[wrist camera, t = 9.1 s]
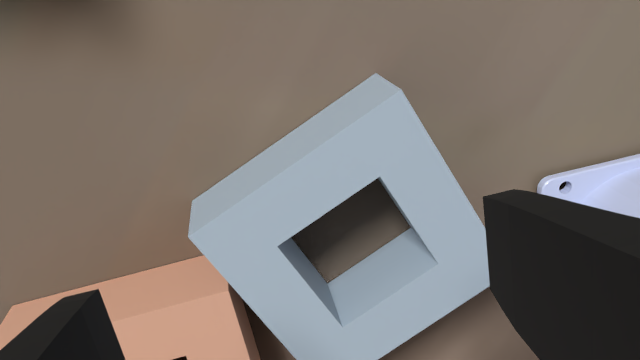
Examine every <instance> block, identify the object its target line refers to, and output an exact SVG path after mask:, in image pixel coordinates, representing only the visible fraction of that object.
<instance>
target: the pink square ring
mask: <svg viewBox="0 0 640 360" xmlns="http://www.w3.org/2000/svg"><path fill="white" fill-rule="evenodd" d="M96 289H99V291H100V294H101V296H102V299H103V302H104V304H105V307H106V310H107V312H108V315H109V317H110V320H111V323H112V325H113V328H114V331H115V333H116V336H117V339H118V341H119V344H120V346H121V349H122V352H123V354H124V357H125V360H172V359H176V358H179V357H183V356H186V357H187V360H261V359H260V355H259V352H258V349H257V346H256V342H255V339H254V336H253V333H252V329H251V326H250V323H249V319H248V316H247V313H246V310H245V306H244V303H243V300H242V297H241V296H240V295H239V294H238V293H237V292H236V291H235V290H234V288H233V287H232V286H231V285H230V284H229V283H228V282H227V280H226V279H225V278H224V277H223V276H222V275H221V274H220V273H219V271H218V270H217V269H216V268H215V267H214V266H213V265H212V264H211V262H210V261H209V260H208V259H207V258H206V257H205V256H204V255H203V256H199V257H195V258H191V259H187V260H184V261H180V262H176V263H172V264H168V265H165V266H161V267H157V268H153V269H150V270H146V271H142V272H138V273H134V274H131V275H127V276H123V277H119V278H115V279H112V280H108V281H104V282H100V283H97V284H93V285H89V286H85V287H81V288H78V289H74V290H70V291H66V292H62V293H59V294H55V295H51V296H47V297H44V298H40V299H36V300H32V301H28V302H25V303H21V304H17V305H13V306H12V307H11V309H10V311H9V312H8V314H7V315H6V317H5V319H4V320H3V322H2V324H1V325H0V350H1V349H2V348H3V347H4V346H6V345H7V344H8V343H9V342H10V341H11V340H12V339H14V338H15V337H16V336H17V335H18V334H19V333H20V332H21V331H23V330H24V329H25V328H26V327H27V326H28V325H29V324H31V323H32V322H33V321H34V320H35V319H36V318H37V317H39V316H40V315H41V314H42V313H43V312H45V311H46V310H47V309H48V308H50V307H51V306H52V305H53V304H55V303H56V302H58V301H59V300H61V299H62V298H64V297H67V296H71V295H75V294H79V293H83V292H88V291H92V290H96Z"/></svg>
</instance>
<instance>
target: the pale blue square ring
mask: <svg viewBox="0 0 640 360" xmlns="http://www.w3.org/2000/svg"><path fill="white" fill-rule="evenodd" d="M377 178H378V179H379V181H380V182H381V184H382V185H383V187H384V188H385V190H386V191H387V193H388V194H389V195H390V197H391V198H392V200H393V201H394V203H395V204H396V206H397V207H398V209H399V210H400V212H401V213H402V215H403V216H404V218H405V219H406V221H407V222H408V224H409V225H410V227H411V228H409V229H408V230H406V231H405V232H403V233H402V234H401V235H399V236H398V237H396V238H395V239H393V240H392V241H390V242H389V243H387V244H386V245H384V246H383V247H381V248H380V249H378V250H377V251H375V252H374V253H372V254H371V255H369V256H368V257H366V258H365V259H363V260H362V261H360V262H359V263H357V264H356V265H354V266H353V267H351V268H350V269H349V270H347V271H346V272H344V273H343V274H341V275H340V276H338V277H337V278H335V279H334V280H332V281H331V282H329V283H328V284H327V283H326V281H325V280H324V279H323V278H322V276H321V275H320V274H319V272H318V271H317V270H316V269H315V267H314V266H313V265H312V264H311V262H310V261H309V260H308V259H307V257H306V256H305V255H304V253H303V252H302V251H301V250H300V248H299V247H298V246H297V245H296V243H295V242H294V241H293V240H292V238H291V237H292V236H293V235H295V234H296V233H298V232H299V231H301V230H302V229H304V228H305V227H306V226H308V225H309V224H311V223H312V222H314V221H315V220H317V219H318V218H320V217H321V216H323V215H324V214H326V213H327V212H328V211H330V210H331V209H333V208H334V207H336V206H337V205H339V204H340V203H342V202H343V201H345V200H346V199H348V198H349V197H350V196H352V195H353V194H355V193H356V192H358V191H359V190H361V189H362V188H364V187H365V186H367V185H368V184H370V183H371V182H372V181H374V180H375V179H377ZM188 238H189V239H190V240H191V241H192V242H193V243H194V244H195V245H196V247H197V248H198V249H199V250H200V251H201V252H202V253H203V254H204V256H205V257H206V258H207V259H208V260H209V261H210V262H211V264H212V265H213V266H214V267H215V268H216V269H217V270H218V271H219V273H220V274H221V275H222V276H223V277H224V278H225V279H226V280H227V282H228V283H229V284H230V285H231V286H232V287H233V288H234V290H235V291H236V292H237V293H238V294H239V295H240V296H241V297H242V299H243V300H244V301H245V302H246V303H247V304H248V305H249V307H250V308H251V309H252V310H253V311H254V312H255V313H256V314H257V316H258V317H259V318H260V319H261V320H262V321H263V322H264V323H265V325H266V326H267V327H268V328H269V329H270V330H271V331H272V333H273V334H274V335H275V336H276V337H277V338H278V339H279V340H280V342H281V343H282V344H283V345H284V346H285V347H286V348H287V349H288V351H289V352H290V353H291V354H292V355H293V356H294V357H295V359H296V360H378V359H380V358H381V357H383V356H384V355H386V354H387V353H389V352H390V351H392V350H393V349H395V348H396V347H398V346H399V345H401V344H402V343H404V342H405V341H407V340H408V339H410V338H411V337H413V336H414V335H416V334H417V333H419V332H421V331H422V330H424V329H425V328H427V327H428V326H430V325H431V324H433V323H434V322H436V321H437V320H439V319H440V318H442V317H443V316H445V315H446V314H448V313H449V312H451V311H452V310H454V309H455V308H457V307H458V306H460V305H462V304H463V303H465V302H466V301H468V300H469V299H471V298H472V297H474V296H475V295H477V294H478V293H480V292H481V291H483V290H484V289H486V288H487V287H489V286H490V282H489V269H488V256H487V243H486V230H485V227H484V226H483V224H482V222H481V221H480V219H479V217H478V216H477V214H476V212H475V211H474V209H473V207H472V206H471V204H470V202H469V201H468V199H467V197H466V196H465V194H464V192H463V191H462V189H461V188H460V186H459V184H458V183H457V181H456V179H455V178H454V176H453V174H452V173H451V171H450V169H449V168H448V166H447V164H446V163H445V161H444V159H443V158H442V156H441V154H440V153H439V151H438V149H437V148H436V146H435V145H434V143H433V141H432V140H431V138H430V136H429V135H428V133H427V131H426V130H425V128H424V126H423V125H422V123H421V121H420V120H419V118H418V116H417V115H416V113H415V111H414V110H413V108H412V106H411V105H410V103H409V102H408V100H407V98H406V97H405V95H404V93H403V92H402V90H401V89H400V88H398V87H397V86H395V85H394V84H392V83H390V82H389V81H387V80H386V79H384V78H383V77H381V76H380V75H378V74H377V73H375V74H374V75H372V76H371V77H369V78H368V79H367V80H365V81H364V82H362V83H361V84H359V85H358V86H356V87H355V88H354V89H352V90H351V91H349V92H348V93H346V94H345V95H344V96H342V97H341V98H339V99H338V100H336V101H335V102H334V103H332V104H331V105H329V106H328V107H326V108H325V109H323V110H322V111H321V112H319V113H318V114H316V115H315V116H313V117H312V118H311V119H309V120H308V121H306V122H305V123H303V124H302V125H300V126H299V127H298V128H296V129H295V130H293V131H292V132H290V133H289V134H288V135H286V136H285V137H283V138H282V139H280V140H279V141H277V142H276V143H275V144H273V145H272V146H270V147H269V148H267V149H266V150H265V151H263V152H262V153H260V154H259V155H257V156H256V157H254V158H253V159H252V160H250V161H249V162H247V163H246V164H244V165H243V166H242V167H240V168H239V169H237V170H236V171H234V172H233V173H232V174H230V175H229V176H227V177H226V178H224V179H223V180H221V181H220V182H219V183H217V184H216V185H214V186H213V187H211V188H210V189H209V190H207V191H206V192H204V193H203V194H201V195H200V196H198V197H197V198H196V199H194V200H193V201H192V207H191V215H190V224H189V233H188Z"/></svg>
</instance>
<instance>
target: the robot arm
mask: <svg viewBox="0 0 640 360" xmlns="http://www.w3.org/2000/svg"><path fill="white" fill-rule="evenodd" d="M565 181H566V185H565V187H564V188H563V189H561V190H559V187H560V185H561V184H562V183H563V182H565ZM483 204H484V217H485V230H486V243H487V256H488V269H489V282H490V289H491V291H492V293H493V294H494V296H495V298H496V300H497V301H498V303H499V305H500V306H501V308H502V310H503V311H504V313H505V314H506V316H507V317H508V319H509V321H510V322H511V324H512V325H513V327H514V328H515V330H516V331H517V332H518V334H519V335H520V336H521V337H522V339H523V340H524V341H525V342H526V344H527V345H528V346H529V347H530V348H531V350H532V351H533V352H534V353H535V354H536V356H537V357H538V358H539V359H540V360H640V154H637V155H633V156H629V157H625V158H621V159H616V160H612V161H608V162H604V163H600V164H596V165H591V166H587V167H583V168H579V169H575V170H570V171H566V172H562V173H558V174H554V175H549V176H547V177H544V178H543V179H542V180H541V181H540V182H539V184H538V187H537V193H534V192H529V191H523V190H514V189H513V190H509V191H505V192H501V193H497V194H492V195H488V196H484V197H483ZM0 360H125V357H124V354H123V352H122V349H121V346H120V344H119V341H118V339H117V336H116V333H115V331H114V328H113V325H112V323H111V320H110V317H109V315H108V312H107V310H106V307H105V304H104V302H103V299H102V296H101V294H100V291H99V289H96V290H92V291H88V292H83V293H79V294H75V295H71V296H67V297H64V298H62V299H61V300H59V301H58V302H56V303H55V304H53V305H52V306H51V307H50V308H48V309H47V310H46V311H45V312H43V313H42V314H41V315H40V316H39V317H37V318H36V319H35V320H34V321H33V322H32V323H31V324H29V325H28V326H27V327H26V328H25V329H24V330H23V331H21V332H20V333H19V334H18V335H17V336H16V337H15V338H14V339H12V340H11V341H10V342H9V343H8V344H7V345H6V346H4V347H3V348H2V349H1V350H0Z"/></svg>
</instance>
